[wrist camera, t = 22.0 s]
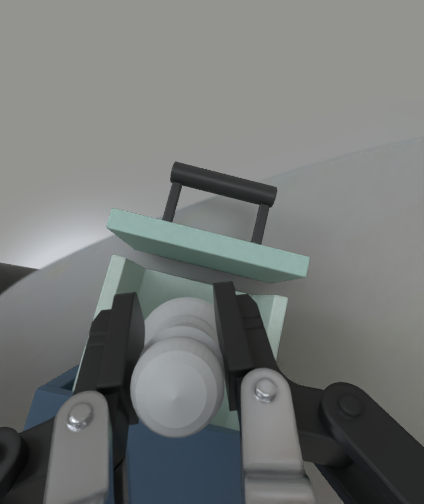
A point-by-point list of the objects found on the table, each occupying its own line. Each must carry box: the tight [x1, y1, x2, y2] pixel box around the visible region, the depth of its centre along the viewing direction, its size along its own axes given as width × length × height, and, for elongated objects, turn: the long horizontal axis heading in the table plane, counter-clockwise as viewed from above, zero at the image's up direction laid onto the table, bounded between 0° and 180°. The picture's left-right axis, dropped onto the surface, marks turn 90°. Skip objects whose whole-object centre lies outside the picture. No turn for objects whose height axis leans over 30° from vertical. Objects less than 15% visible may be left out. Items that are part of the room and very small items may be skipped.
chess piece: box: [130, 297, 225, 438], centre depth 11 cm, size 5×5×8 cm
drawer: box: [72, 162, 310, 431], centre depth 20 cm, size 18×11×8 cm, turn 166°
